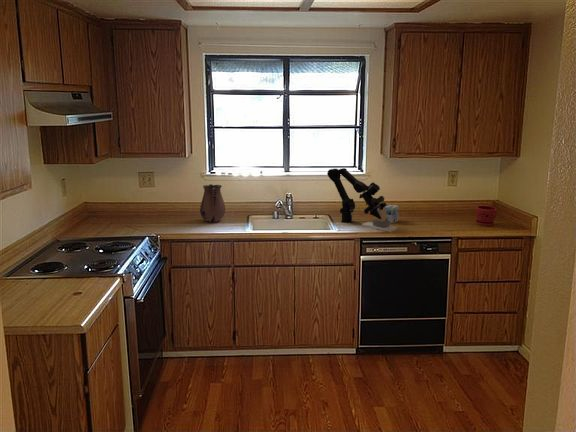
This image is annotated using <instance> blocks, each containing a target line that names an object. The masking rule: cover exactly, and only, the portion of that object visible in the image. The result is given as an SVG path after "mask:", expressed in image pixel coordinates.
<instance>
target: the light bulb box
mask: <svg viewBox="0 0 576 432" xmlns="http://www.w3.org/2000/svg"><path fill="white" fill-rule="evenodd" d="M383 210H386V220H387V221H390V224H395V223H398V222H399V214H400V206H399V205H395V204H389V205H386V206H385V207H384V208H383Z"/></svg>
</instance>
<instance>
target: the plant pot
mask: <svg viewBox="0 0 576 432" xmlns="http://www.w3.org/2000/svg"><path fill="white" fill-rule="evenodd" d="M497 212H498V208H496V207H494V206H490V205H477V206H476V208H475V218H476V220H475V223H476V224H477V225H479V226H483V227H491V226H493V225H494V224H495V220H496V217H497Z"/></svg>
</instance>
